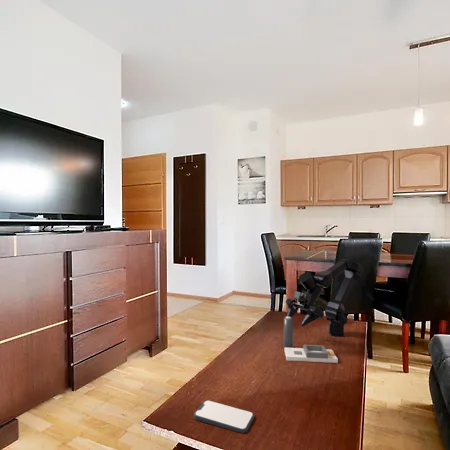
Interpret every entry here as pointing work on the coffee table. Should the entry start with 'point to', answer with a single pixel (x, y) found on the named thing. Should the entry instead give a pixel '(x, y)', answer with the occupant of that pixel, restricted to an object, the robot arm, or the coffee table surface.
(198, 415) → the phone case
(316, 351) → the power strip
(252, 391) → the coffee table surface
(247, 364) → the coffee table surface
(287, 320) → the joystick
